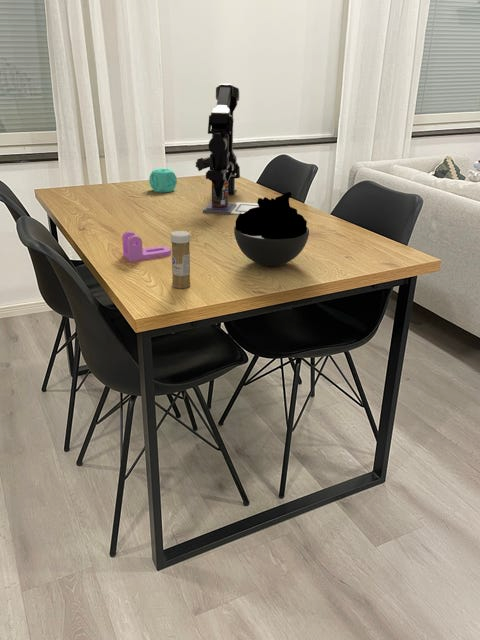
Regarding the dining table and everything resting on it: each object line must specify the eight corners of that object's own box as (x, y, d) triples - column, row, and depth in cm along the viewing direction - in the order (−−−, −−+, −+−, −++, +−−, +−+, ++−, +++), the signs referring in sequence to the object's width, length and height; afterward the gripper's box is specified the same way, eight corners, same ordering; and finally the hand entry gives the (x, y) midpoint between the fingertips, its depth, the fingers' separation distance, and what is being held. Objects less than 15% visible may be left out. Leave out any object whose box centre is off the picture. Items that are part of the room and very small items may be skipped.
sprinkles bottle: (168, 285, 143) (166, 232, 137) (182, 280, 146) (180, 229, 140) (181, 290, 140) (179, 237, 135) (194, 285, 144) (194, 232, 138)
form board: (236, 203, 219) (236, 201, 219) (273, 205, 217) (273, 204, 217) (227, 213, 205) (227, 212, 205) (267, 216, 203) (267, 215, 203)
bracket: (130, 262, 158) (128, 237, 155) (123, 256, 163) (121, 232, 160) (174, 255, 164) (173, 231, 161) (166, 249, 169) (165, 226, 166)
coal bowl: (252, 281, 147) (254, 208, 139) (222, 256, 163) (223, 190, 155) (320, 271, 154) (326, 201, 146) (285, 249, 171) (289, 185, 163)
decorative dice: (177, 190, 237) (176, 170, 233) (162, 193, 231) (161, 173, 228) (164, 187, 241) (163, 167, 238) (149, 190, 236) (148, 170, 233)
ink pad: (210, 205, 216) (210, 201, 215) (236, 206, 214) (236, 203, 214) (202, 212, 206) (202, 208, 206) (230, 214, 205) (230, 210, 204)
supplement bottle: (227, 208, 207) (228, 176, 202) (211, 207, 207) (211, 175, 202) (228, 203, 212) (228, 172, 208) (212, 203, 213) (212, 172, 208)
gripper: (204, 144, 211) (204, 187, 218) (190, 153, 194) (191, 199, 201) (234, 146, 209) (233, 189, 216) (223, 154, 193) (222, 201, 199)
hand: (220, 194), depth 208 cm, fingers closed on supplement bottle, 6 cm apart
